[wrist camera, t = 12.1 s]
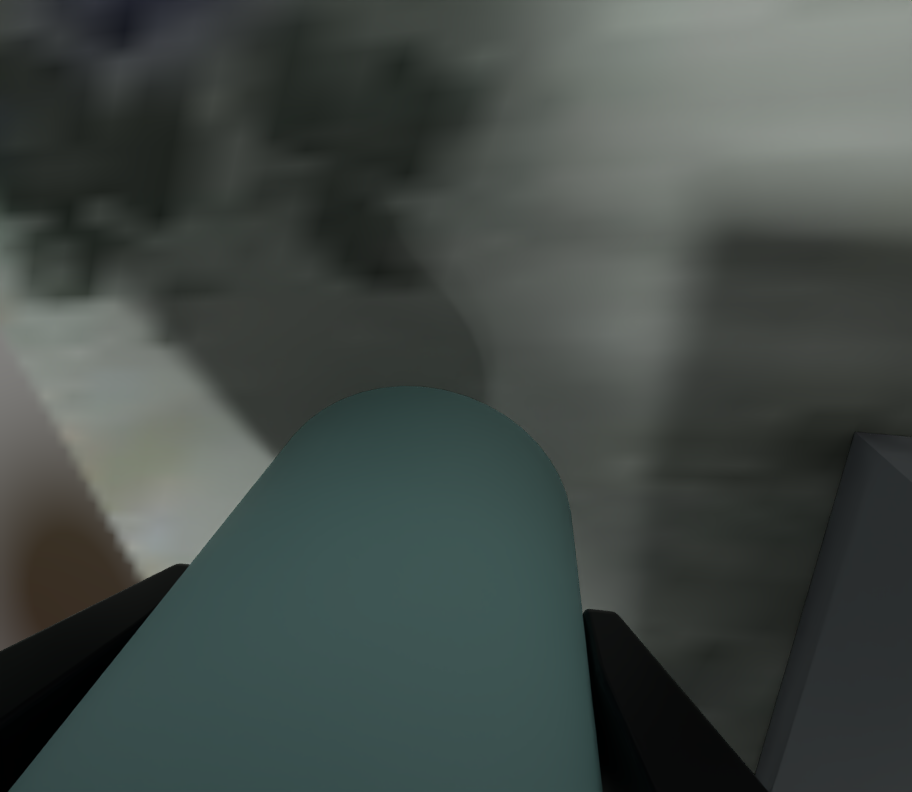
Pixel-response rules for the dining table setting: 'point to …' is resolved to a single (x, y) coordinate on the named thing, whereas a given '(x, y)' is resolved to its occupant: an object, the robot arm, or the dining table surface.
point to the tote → (853, 640)
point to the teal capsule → (360, 626)
